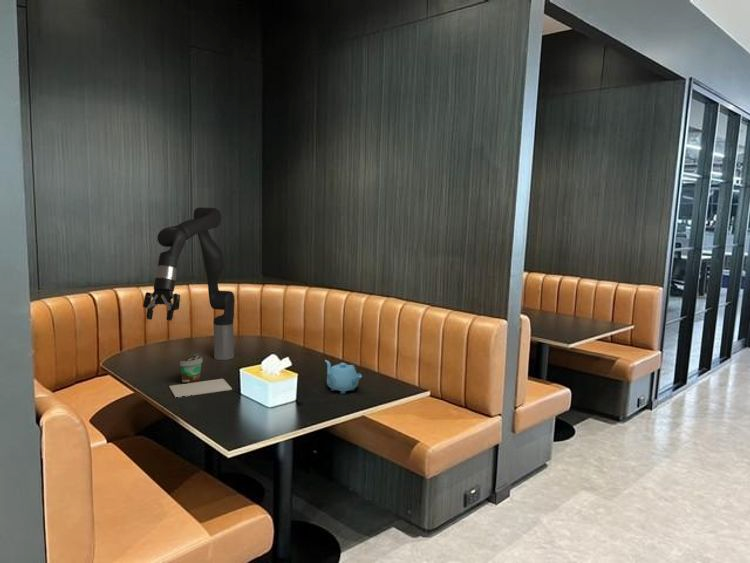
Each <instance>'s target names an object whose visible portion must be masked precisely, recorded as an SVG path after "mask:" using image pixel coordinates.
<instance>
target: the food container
mask: <svg viewBox="0 0 750 563" xmlns="http://www.w3.org/2000/svg"><path fill="white" fill-rule="evenodd" d="M203 361H204V360H203V357H202V355H201V354H199V353H194V354H193V356H192V357H190V358H187V359H185V360H180V363H179V366H180V371H181V372H180V373H181V383H195V382H200V381H201V375H202V373H201V372H202V363H203ZM199 380H200V381H199Z"/></svg>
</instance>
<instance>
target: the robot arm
mask: <svg viewBox="0 0 750 563" xmlns="http://www.w3.org/2000/svg"><path fill="white" fill-rule="evenodd" d="M221 223H222V213H221V210H219V209H218V208H216V207H196V208H195V209H194V210H193V218H191V219H188V220H185V221H182V222H181V223H178V224H177V225H173V226H168V227H165V228H163V229H161V230H160V231H159V232H158V234H157V238H156V239H157V242H158V244H159V245H160V246H162V247H164V248H169V249H168V250H166V251H162V252H160V254H159V256H158V261H157V262H158V263H157V267H156V271H155V277H154V281H153V282H154V283H153V292H148V291H146V292H145V296H144V300H143V304H142V307H143V308H145V309H146V310H147V311H146V319H147V320H150V321H152V320H153V314H154V309H155V308H156V307H157V306H159V305H163V306H166V308H167V314H166V321H170V322H171V321H172V320H173V318H174V312H175V311H178V310H179V309H180V302H181V295H180V294H178V293H177V292H176V293H174V291H175V287H176V279H177V270H178V268H177V267H178V262H179V258H180V255H181V253H182V251H183V249H184V247H185V244H186V241H187V240H189V239H191V238H192V237H195V236H196V235H197V236H198V241H199V245H200V250H201V254H202V260H203V261H202V262H203V266H204V270H205V276H206V281H207V288H208V289H207V290H208V291H207V292H208V300H209V305H210V307H211V308H212V309H213V310H220V311H223V314H221V315H218V316H216V317H214V318H213V347H214V348H213V353H214V354H213V356H214V359H215V360H217V361H228V360H232V359H234V358H235V354H234V352H235V350H234V348H235V347H234V343H235V342H234V337H235V336H234V318H235V317H234V316H235V301H236V300H235V294H234V292H233V291H231V290H219V280H220V278H221V276H222V274H223V272H224V269H225V265H226V264H225V258H224V254H223V251H222V249H221V248H220V246H219V245H218V244H217V243H216V242H215V241H214V239H213V238H212V236H211V234H210V232H209V230H212V229H216V228H219V226H220V225H221ZM172 299H173V300H172Z"/></svg>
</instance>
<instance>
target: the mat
mask: <svg viewBox="0 0 750 563" xmlns="http://www.w3.org/2000/svg"><path fill="white" fill-rule="evenodd" d="M168 387H169V389H170V391H171V393H172V394H173V396H174V398H176V397H178V398H183V397H182V396H185V397H190V396H191V395H192V396H196V395H204V394H212V393H218V392H224V391H231V390H233V388H232V387H231V385H229V383H228V382H227V381H226V380H225V379H224V378H218V379H210V380H203V381H198V382H195V383H187V384H173V385H169V386H168Z"/></svg>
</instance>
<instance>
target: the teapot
mask: <svg viewBox="0 0 750 563" xmlns="http://www.w3.org/2000/svg"><path fill="white" fill-rule="evenodd" d="M324 362H325V363H326V366H327V368H326V372H327V374H326V375H327V376H326V384H327V386H328V387H329V388H330V391H333V392H335V391H340V392H339V393H340V394H341V395H346V392H348V391H355V389H356V388H357V387H358V385H359V380H360V379H361V378H362V377H363V375H362V374H361V373H360V372H359V373H357V371H356V367H355V365H354V364H347V363H345V362H339V363H338V364H335V365H333V366H332V364H331V362H330V361H329V360H327V359H324Z"/></svg>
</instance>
